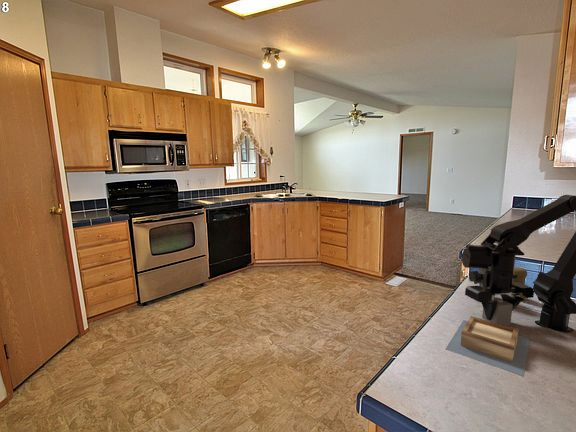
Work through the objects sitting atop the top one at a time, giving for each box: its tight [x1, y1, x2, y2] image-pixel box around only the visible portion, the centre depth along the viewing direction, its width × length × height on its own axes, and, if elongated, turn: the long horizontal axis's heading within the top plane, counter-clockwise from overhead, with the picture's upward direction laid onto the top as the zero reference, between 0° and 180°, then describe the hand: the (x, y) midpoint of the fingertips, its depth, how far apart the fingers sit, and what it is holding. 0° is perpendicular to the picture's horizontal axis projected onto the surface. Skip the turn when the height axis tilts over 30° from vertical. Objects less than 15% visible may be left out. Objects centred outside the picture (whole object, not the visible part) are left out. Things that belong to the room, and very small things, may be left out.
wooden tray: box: [460, 316, 519, 362], centre depth 81 cm, size 11×11×4 cm
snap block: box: [481, 296, 513, 326], centre depth 93 cm, size 5×5×8 cm
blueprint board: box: [445, 319, 531, 377], centre depth 82 cm, size 20×16×1 cm
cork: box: [512, 266, 528, 301], centre depth 112 cm, size 6×6×11 cm
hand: (496, 318), depth 93 cm, fingers closed on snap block, 5 cm apart
